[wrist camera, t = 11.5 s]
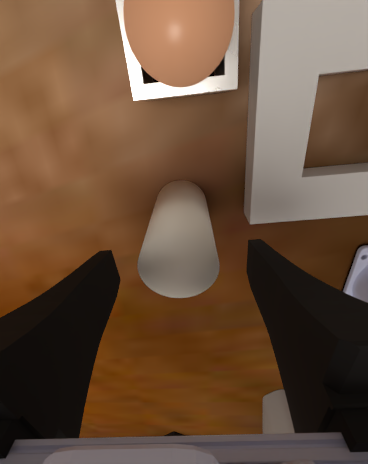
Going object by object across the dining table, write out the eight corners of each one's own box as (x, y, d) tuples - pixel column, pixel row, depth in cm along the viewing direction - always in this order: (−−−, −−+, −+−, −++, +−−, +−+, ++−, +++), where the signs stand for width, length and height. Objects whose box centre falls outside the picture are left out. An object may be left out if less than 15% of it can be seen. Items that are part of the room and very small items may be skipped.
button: (222, 86, 13) (233, 80, 10) (147, 94, 13) (135, 91, 10) (221, -22, 11) (235, -73, 8) (131, -10, 11) (110, -54, 8)
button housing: (224, 92, 14) (237, 88, 11) (146, 101, 14) (133, 100, 11) (224, -22, 12) (240, -75, 8) (129, -8, 12) (105, -54, 8)
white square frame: (398, 200, 18) (421, 210, 16) (243, 212, 18) (249, 224, 16) (486, -17, 12) (539, -38, 10) (252, 14, 12) (263, -1, 10)
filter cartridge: (206, 225, 19) (218, 297, 12) (158, 227, 19) (143, 298, 12) (206, 179, 17) (220, 232, 10) (153, 181, 17) (131, 234, 10)
